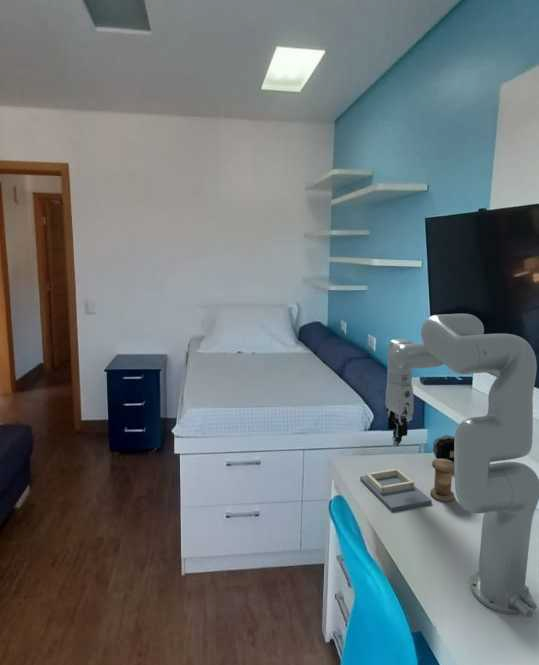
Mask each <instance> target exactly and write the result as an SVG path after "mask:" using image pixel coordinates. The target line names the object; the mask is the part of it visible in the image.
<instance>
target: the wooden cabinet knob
mask: <svg viewBox="0 0 539 665" xmlns="http://www.w3.org/2000/svg"><path fill="white" fill-rule="evenodd" d="M431 463H432V464H431V466H432V468H434V470H435V471H434V483H433V484H434V485H433V488H431V489H430V497H431V498H432V499H434V500H436V501H439V502H444V503H450V502H452V501H454V498H455V493H454V492H453V490H452V482H453V481H452V479H453V478H452V477H453V472H455V468H454V462H453V461H450V460H447V459H436V458H435V459H433V460H432V462H431Z"/></svg>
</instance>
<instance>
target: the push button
mask: <svg viewBox="0 0 539 665" xmlns="http://www.w3.org/2000/svg"><path fill="white" fill-rule="evenodd" d="M403 414H405V412H404V413H403ZM404 418H405V416H403V417H402V420H403V419H404ZM392 421H393V422H394V423H395V424H397V425H396V429H394V430H393V432H392V435H393V436H392V438H391V441H392V442H393V443H392V444H393V446H394V447H396V448H397V447H399V445H400V444H401V443H402V442H403V436H400V437H399V436H398V435H397V434H398V424H399V418H398V415H397V414H396V413H395V414H393V415H392Z"/></svg>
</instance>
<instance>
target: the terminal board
mask: <svg viewBox="0 0 539 665" xmlns="http://www.w3.org/2000/svg"><path fill="white" fill-rule="evenodd" d="M359 481H361V483H363V485H364V486H365V487H366V488H368V490H369V491H370V492H372V494H373V495H374V496H375V497H376V498H377V499H378V500H379V501H380V502H381V503H382V504H383V505H384V506H385V507H386V508H387V509H388V510H389V511H390V512H395V511H400V510H405V509H411V508H418V507H423V506H427V505H432V499H431V498H430V497H428V496H427V495H426V494H425V493H423V492H422V490H420V489H419V488H418V487H417V486H415V482H414V481H413V480H412V479H410V477H408V476H407V475H406V474H405V473H404V472H402V471H401V469H399V468H393V469H385V470H380V471H373V472H368V473H365V475H362V476H360V477H359Z"/></svg>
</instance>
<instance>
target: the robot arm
mask: <svg viewBox="0 0 539 665" xmlns="http://www.w3.org/2000/svg"><path fill="white" fill-rule="evenodd" d="M420 330H421V331H420V335H421V336H420V337H421V340H422V342H417V343H416V342H413V341H411V339H407V338H393V339H391V340H389V341H388V345H387V346H388V347H387V370H386V371H387V373H386V374H387V375H386V378H387V379H386V388H385V389H386V390H385V402H384V405H385V408H386V411H387V429H388V430H395V429H396V425H397V424H395V423H394V422H393V421H392V415H393V414H395V413H396V414H397V415H398V418H399V424H398V434H397V435H398V436H399V437H400V436H402V437H407V436H408V427H409V424H410V422H411V421H412V420H413V418H414V417H413V415H414V412H415V411H414V409H415V408H414V406H415V403H414V401H415V400H414V388H413V384H412V381H413V379H412V378H413V370H416V369H429V368H430V369H431V368H437V367H440V366H443V365H445V366H446V367H447V368H448V369H449V370H451V371H452V372H454V373H456V374H460V375H461V374H462V375H470V374H472V375H473V374H485V373H493V372H498V376H497V377H496V378H495V379H494V380H493V383H492V385H491V386H490V390H489V391H488V397H487V398H488V399H487V400H488V406H487V408H488V409H487V414H486V415H484V416H475V417H474V416H473V417H470V418H466V419H464V420H463V421H461V422H460V423H459V424H458V426H457V427H456V430H455V434H454V437H455V440H454V468H455V470H454V489H455V494H456V498H457V500H458V502H459V504H460V505H461V507H462V508H463V509H464V510H465V511H467V512H469V513H471V514H478V515H479V514H483V517H482V523H481V524H482V525H481V536H480V549H479V552H480V553H479V558H478V559H479V561H478V571H477V572H476V573H474V574H473V575H472V576H471V578H470V582H469V588H470V591H471V592H472V594H473V595H474V597H475V598H476V599H477V600H478V601H479V602H480V603H482V604H483V605H484V606H485V607H488V608H490V609H492V610H494V611H496V612H499V613H503V614H509V615H511V614H512V615H513V614H514V615H516V614H517V615H518V614H522V615H523V616H524V617H525V618H527V619H528V618H530V617H532V616H533V610H536V608H537V604H536V603H535V602H534V601H533V600H532V599H533V598H532V597H533V596H532V594H531V592H530V589H529V587H528V586H527V585H526V577H527V568H528V559H529V549H530V548H529V547H530V540H531V532H532V531H531V530H532V525H533V519H534V515H535V511H536V509H537V506H538V503H539V477H538V475H537V473H536V472H535V471H534V469H532V468H531V467H530V466H528V465H527V464H524V463H521V462H516V461H508V460H515V459H520V458H523V457H526V456H527V455H529V454H530V452H531V451H532V447H533V436H534V435H533V431H534V429H533V421H534V420H533V419H534V417H533V415H534V410H533V408H534V407H533V406H534V405H533V404H534V402H533V397H534V391H535V390H534V389H535V383H536V377H537V371H538V370H537V368H538V366H537V357H536V354H535V351H534V349H533V347H532V346H531V344H530V343H529V342H528V341H527V340H526V339H524V338H523V337H521V336H518V335H516V334H510V333H485V332H484V331H485V328H484V323H483V322H482V321H481V320H480V319H479V317H477V316H475V315H473V314H470V313H449V314H447V313H445V314H433V315H431V316H428V318H427V319H426V320H424V322H423V323H422V326H421V329H420ZM484 333H485V334H484ZM403 413H404V414H403ZM403 416H405V418H404V419H403V420H402V417H403ZM500 461H504V462H500ZM492 462H493V463H492ZM494 462H497V463H494Z"/></svg>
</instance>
